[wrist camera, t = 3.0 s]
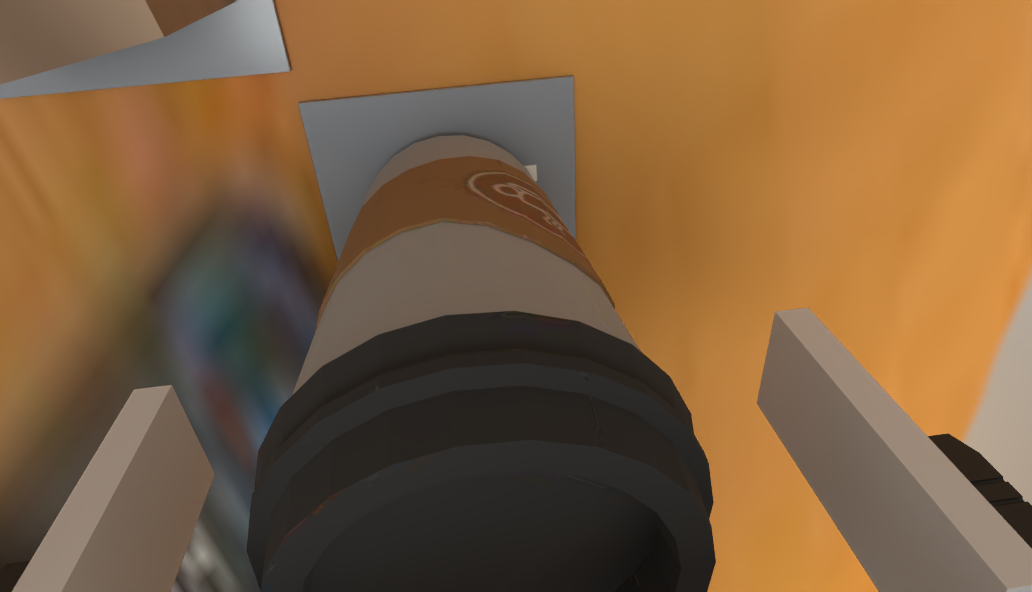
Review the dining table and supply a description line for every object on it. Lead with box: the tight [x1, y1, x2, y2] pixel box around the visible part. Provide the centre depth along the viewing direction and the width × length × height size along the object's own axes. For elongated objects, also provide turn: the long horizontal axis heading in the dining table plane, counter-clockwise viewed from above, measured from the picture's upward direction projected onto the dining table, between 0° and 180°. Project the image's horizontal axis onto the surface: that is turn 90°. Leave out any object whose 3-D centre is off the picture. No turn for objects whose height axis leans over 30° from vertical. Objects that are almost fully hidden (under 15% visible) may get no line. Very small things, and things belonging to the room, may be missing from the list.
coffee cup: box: [247, 135, 716, 592], centre depth 16 cm, size 8×8×15 cm
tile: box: [298, 75, 576, 261], centre depth 23 cm, size 9×9×1 cm
